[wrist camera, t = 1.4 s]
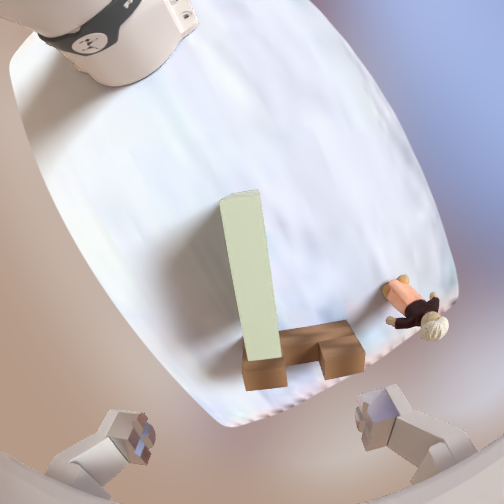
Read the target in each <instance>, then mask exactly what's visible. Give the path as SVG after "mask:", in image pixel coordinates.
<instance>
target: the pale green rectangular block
mask: <svg viewBox="0 0 504 504" xmlns="http://www.w3.org/2000/svg"><path fill="white" fill-rule="evenodd" d="M219 204H220V211H221V217H222V223H223V228H224V234H225V240H226V246H227V252H228V257H229V263H230V269H231V274H232V280H233V285H234V290H235V296H236V301H237V307H238V312H239V317H240V322H241V327H242V333H243V338H244V343H245V348H246V353H247V358H248V361H254V360H263V359H271V358H279V357H282V355H281V347H280V339H279V331H278V323H277V315H276V307H275V299H274V292H273V284H272V277H271V269H270V262H269V255H268V248H267V240H266V233H265V226H264V219H263V212H262V205H261V198H260V193H259V191H258V190H251V191H244V192H238V193H232V194H230V195H228V196H227V197H225V198H223V199H221V200H220V201H219Z"/></svg>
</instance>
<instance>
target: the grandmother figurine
mask: <svg viewBox="0 0 504 504" xmlns="http://www.w3.org/2000/svg"><path fill="white" fill-rule="evenodd" d="M408 284H409V278H408V276H407V275H401V276H400V277H399V278H398V280H396V279H394V280H391V281H390V282H389V283H387V284H385V285H384V286H383V288H382V293H383V295H384V297H385V299H386V300H387V301H390V303H391V304H392V305H393V306H394V307H395V308H396V309H397V310H398V311H399V312H400V313H402V314H403V315H404V316H405V317H407V318H393V317H391V316H389V317H387V318H386V323H387V324H388V325H392V326H394V327H395V329H407V328H411V327H414V326H418V327H419V326H421V330H420V334H421V338H422V339H424V340H426V341H438V340H440V339H441V338H442V337H443V336H444V335H445V334H446V332H447V330H448V326H449V324H448V320H447V319H446V318H445V317H441V316H440V315H439V314H438V309H439V299H438V297H437V294H436V293H435V292H432V293H431V294H430V300H429V301H428V302H426V301H425V300H424V298H423V297H422V296H421V295H420V294H418V293H417V292H416V291H415V290H414V289H413V288H412V287H411V286H410V285H408Z"/></svg>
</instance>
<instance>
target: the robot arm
mask: <svg viewBox="0 0 504 504" xmlns="http://www.w3.org/2000/svg"><path fill="white" fill-rule="evenodd" d="M188 16H189V17H188ZM185 17H188V18H186V19H185ZM0 18H3V19H6V20H9V21H12V22H14V23H17V24H19V25H22V26H24V27H26V28H28V29H30V30H33V31H35V32H37V33H38V36H39V38H40V39H41V40H43V41H44V42H46V44H48V45H49V46H53V47H55V48H56V49H57V50H58V51H59V52H61V53H62V54H63V55H64V56H66V57H67V58H68V59H70V60H71V61H72V62H73V67H74V68H75V69H76V70H78V71H81V72H86V73H88V74H89V75H90V76H91V77H92V78H93V79H94V80H95V81H97V82H98V83H100V84H103V85H106V86H123V85H127V84H131V83H134V82H136V81H138V80H141V79H143V78H144V77H146V76H148V75H149V74H151V73H152V72H154V71H155V70H156V69H158V68H159V67H160V66H161V65H162V64H163V63H164V62H165V61H166V60H167V59H168V58H169V57H170V56H171V54H172V53H173V52H174V50H175V48H176V47H177V45H178V44H179V42H180V41H181V40H182V39H183V38H184V37H185V36H187V35H188V34H189V33H191V32H192V31H193V30H194V29H195V28H196V27H197V26H198V24H199V21H198V18H197V16H196V14H195V12H194V9H193V7H192V5H191V3H190V0H0ZM357 403H358V407H357V408H356V412H355V419H356V424H357V428H358V431H360V432H362V433H363V434H362V442H363V445H364V447H365V450H366V451H370V450H373V449H377V448H381V447H384V446H387V447H388V448H390V449H391V450H393V451H394V452H395V453H397V454H398V455H400V456H402V457H403V458H404V459H406V460H407V461H409V462H410V463H412V464H413V465H415V466H416V467H418V470H417V471H416V473H415V474H414V476H413V477H412V479H411V484H412V486H410V487H407V488H405V489H402V490H399V491H397V492H394V493H391V494H388V495H385V496H382V497H379V498H376V499H373V500H370V501H366V502H363V503H359V504H504V434H503V435H501V436H500V437H499V438H497V439H496V440H494V441H493V442H492V443H490V444H489V445H487V446H486V447H484V448H483V449H481V450H480V451H477V450H476V448H475V446H474V445H473V443H472V442H471V440H470V439H469V437H468V436H467V434H466V433H465V431H464V430H463V429H461V428H458V427H455V426H453V425H451V424H448V423H446V422H443V421H441V420H439V419H436V418H434V417H431V416H429V415H427V414H425V413H422V412H420V411H418V410H415V411H413V410H412V408H411V407H410V405H409V403H408V402H407V400H406V398H405V397H404V395H403V393H402V392H401V390H400V389H399V387H398V385H396V384H394V385H390V386H387V387H384V388H380V389H377V390H373V391H370V392H366V393H362V394H359V395H358V397H357ZM147 420H148V418H147V416H146V415H145V413H142V412H133V411H125V410H118V409H111V410H109V411H108V413H107V415H106V417H105V418H104V420H103V422H102V424H101V426H100V427H99V429H98V431H97V433H96V434H92V435H90V436H88V437H87V438H85V439H83V440H82V441H80V442H78V443H76V444H75V445H73V446H71V447H70V448H68V449H66V450H64V451H63V452H61V453H59V454H57V455H55V457H54V459H53V460H52V462H51V464H50V465H49V467H48V469H47V471H46V472H45V474H42V473H40V472H38V471H36V470H34V469H32V468H30V467H28V466H27V465H25V464H23V463H21V462H19V461H18V460H16V459H14V458H13V457H11V456H9V455H8V454H6V453H5V452H3V451H2V450H0V504H120V503H117V502H113V501H110V497H111V496H110V494H109V493H108V492H107V491H106V490H104V489H103V488H102V487H103V486H105V485H106V484H107V483H108V482H109V481H110V480H111V479H112V478H114V477H115V476H116V475H117V474H118V473H120V472H121V471H122V470H123V469H124V468H125V467H126V466H127V465H128V464H129V463H133V464H140V465H147V464H148V461H149V458H150V455H151V453H150V450H149V449H150V448H151V447H153V445H154V443H155V431H154V428H153V426H152V425H150V424H149V423H148V422H147Z"/></svg>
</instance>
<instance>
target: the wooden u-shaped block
mask: <svg viewBox="0 0 504 504" xmlns="http://www.w3.org/2000/svg"><path fill="white" fill-rule="evenodd" d="M279 339H280V347H281V355H282V357H279V358H271V359H263V360H254V361H248V358H247V353H246V348H245V343H244V347H243V362H242V375H243V380H244V384H245V388H246V391H253V390H263V389H272V388H280V387H287V377H286V368H285V366H288V365H295V364H301V363H308V362H313V361H319V363H320V366H321V369H322V372H323V376H324V379H325V380H329V379H334V378H339V377H343V376H348V375H352V374H356V373H361V372H364V363H365V351H364V349H363V347H362V346H361V344H360V342H359V340H358V339H357V337H356V335H355V334H354V332H353V330H352V329H351V327H350V325H349V324H348V322H347V320H342V321H337V322H332V323H326V324H320V325H315V326H309V327H302V328H296V329H289V330H283V331H279Z"/></svg>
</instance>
